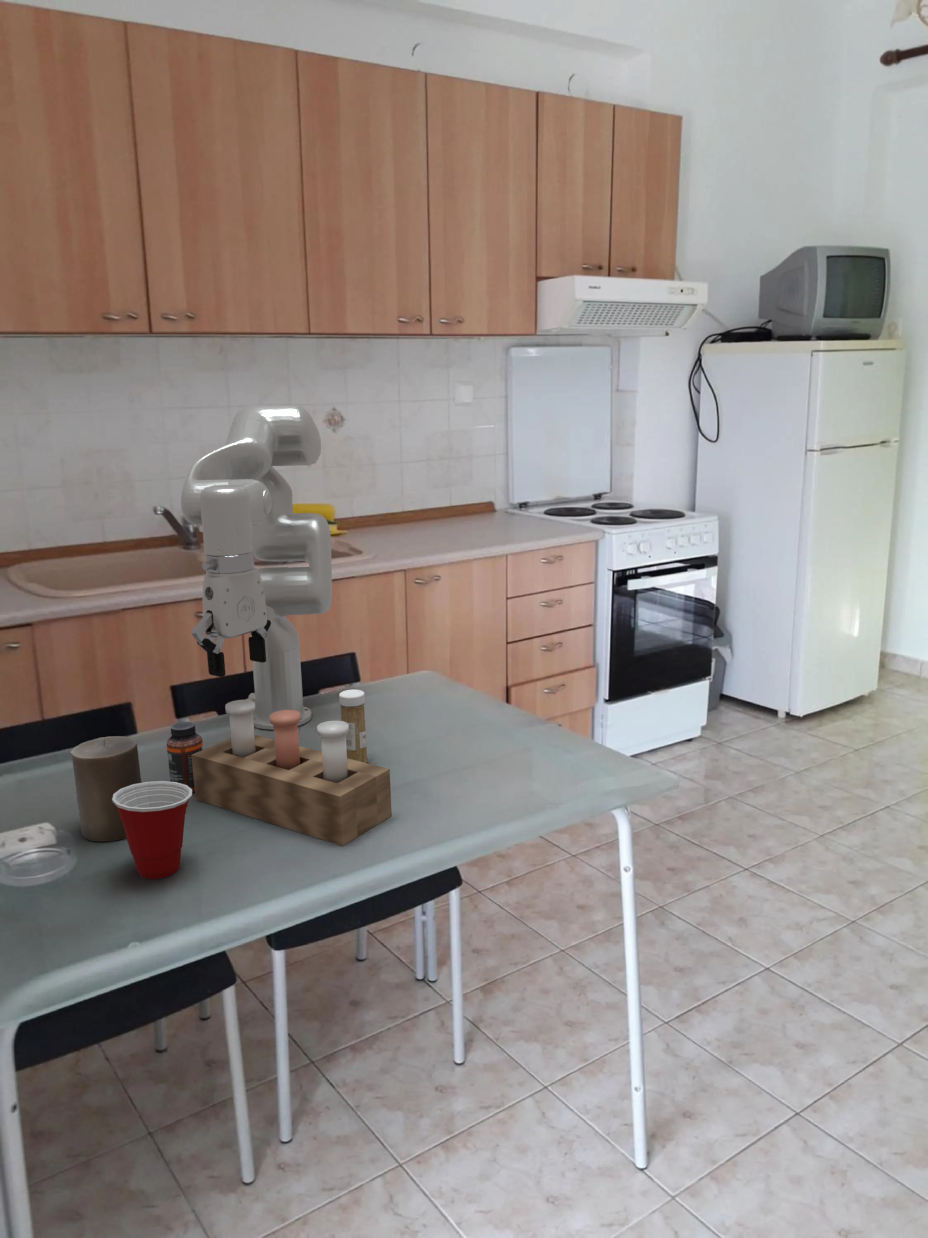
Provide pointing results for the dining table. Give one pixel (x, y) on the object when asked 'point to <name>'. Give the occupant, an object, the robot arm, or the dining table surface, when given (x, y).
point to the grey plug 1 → (241, 727)
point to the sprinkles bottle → (354, 723)
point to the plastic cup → (154, 824)
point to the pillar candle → (103, 783)
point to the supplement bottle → (183, 752)
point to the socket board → (293, 791)
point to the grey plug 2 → (334, 750)
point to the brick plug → (286, 738)
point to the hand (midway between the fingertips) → (238, 668)
